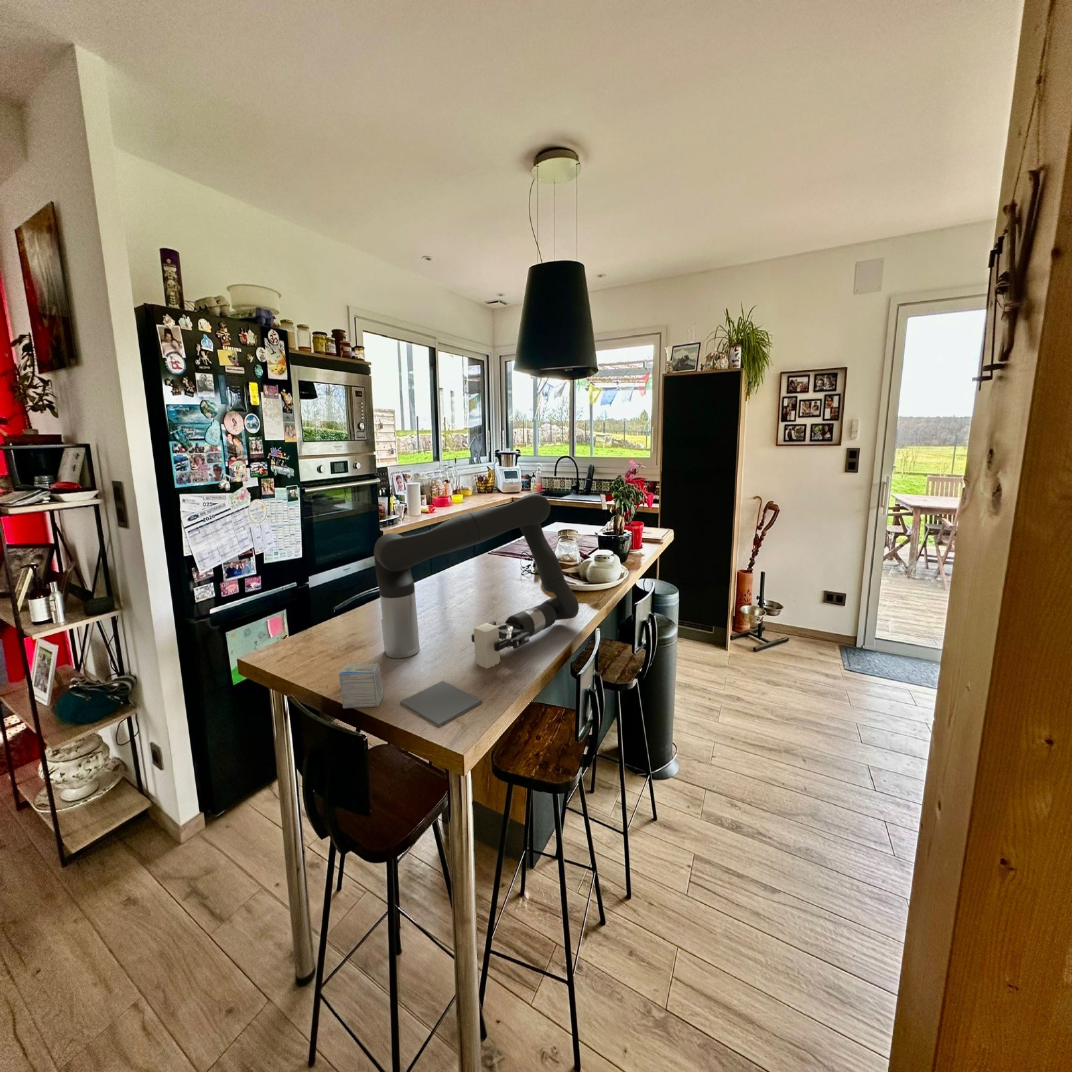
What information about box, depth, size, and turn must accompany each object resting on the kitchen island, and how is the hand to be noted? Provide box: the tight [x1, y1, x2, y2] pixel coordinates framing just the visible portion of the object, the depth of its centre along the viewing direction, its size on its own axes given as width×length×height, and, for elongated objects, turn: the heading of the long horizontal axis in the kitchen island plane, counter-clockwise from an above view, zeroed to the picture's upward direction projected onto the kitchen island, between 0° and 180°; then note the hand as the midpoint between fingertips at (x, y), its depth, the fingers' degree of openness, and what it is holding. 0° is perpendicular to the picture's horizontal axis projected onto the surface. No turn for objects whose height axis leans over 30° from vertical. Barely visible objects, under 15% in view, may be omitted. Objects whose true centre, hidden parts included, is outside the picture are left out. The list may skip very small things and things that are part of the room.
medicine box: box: [338, 662, 384, 709], centre depth 110 cm, size 8×4×9 cm, turn 92°
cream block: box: [473, 622, 501, 669], centre depth 127 cm, size 4×4×10 cm
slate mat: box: [399, 680, 483, 728], centre depth 109 cm, size 14×12×1 cm
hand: (483, 643), depth 126 cm, fingers open, 8 cm apart
